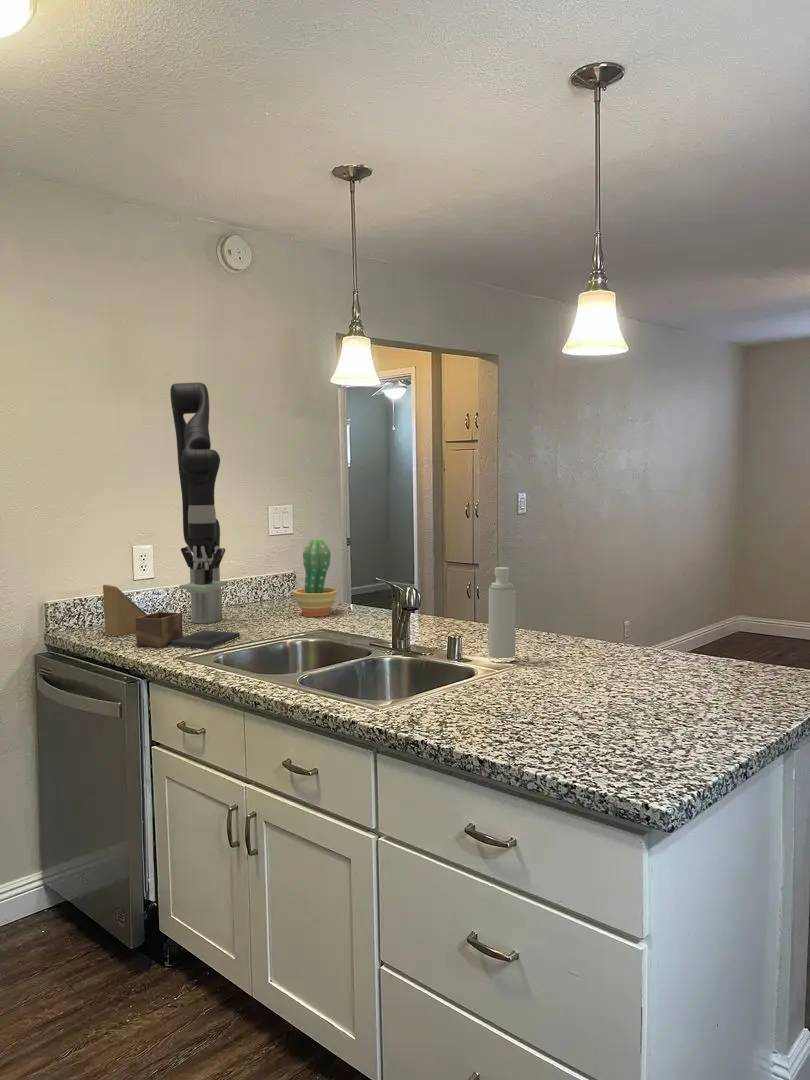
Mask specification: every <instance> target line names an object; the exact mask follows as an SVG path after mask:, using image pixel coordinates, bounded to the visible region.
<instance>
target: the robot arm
mask: <svg viewBox="0 0 810 1080" xmlns="http://www.w3.org/2000/svg"><path fill="white" fill-rule="evenodd" d="M169 391H170V395H169V396H170V403H171V410H172V416H173V422H174V423H173V424H174V428H175V429H174V430H175V435H176V436H175V438H176V450H177V464H178V474H179V475H178V476H179V481H180V489H181V490H180V491H181V499H182V500H181V501H182V503H181V505H182V533H183V539H184V542H185V544H186V546H185V547H181V548H180V551H181V555H182V556H183V558H184V560H185V563H186V565H187V567H188V568H189V577H190V578H189V579H190V582H189V583H193V582H195V570H198V569H203V568H205V583H206V584H209V583H211V582H212V581H221V574H220V573H221V570H220V569H221V568H220V566H221V565H220V564H221V562H222V560H223V558H224V555H225V553H226V549H225V547H221V544H220V543H221V527H220V525H221V524H220V522H219V520H218V518H217V513H216V512H217V511H216V507H215V506H216V505H215V489H216V488H215V486H216V481H217V475H218V472H219V468H220V465H221V457H220V454H219V452H217V450H216V449H211V447H212V444H211V443H212V442H211V438H210V437H211V436H210V429H209V428H210V427H209V426H210V425H209V423H210V397H209V396H210V395H209V391H208V388H207V385H206V384H205V383H203V382H178V383H173V384H172V385H171V386H170V390H169ZM188 414H189V415H190V414H191V415H192V414H194V415H193V416H192V417H191V418H190V419H189V420H188V422H186V420H185V417H184V415H188ZM222 593H223V591H222V590H221V588H220V589H219V590H215V591H211V592H206V593H196V592H190V613H191V623H194V624H211V623H212V624H213V623H214V624H215V623H219V622H220V621H222V620H223V595H222Z"/></svg>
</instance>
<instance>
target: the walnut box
mask: <svg viewBox="0 0 810 1080" xmlns="http://www.w3.org/2000/svg"><path fill="white" fill-rule="evenodd" d="M135 637H136V638H135V641H136V647H137V646H139V648H148V647H153V648H152V649H160V648H161V649H164V648H166V647H165V646H167V647H169V646H168V645H170V646H171V642H170V641H172V640H175V639H179V638H182V637H184V636H183V613H182V612H168V611H167V612H166V611H165V612H164V611H157V612H153V613H149V614H147V615H144V616H141V617H137V618H136V635H135ZM163 647H164V648H163Z"/></svg>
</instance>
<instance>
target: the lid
mask: <svg viewBox="0 0 810 1080" xmlns="http://www.w3.org/2000/svg"><path fill="white" fill-rule="evenodd" d="M225 586H226V587H227V586H228V581H222V580H220V581H212V582H211V583H209V584H206V583H205V568H203V569H198V570H195V582H193V583H190V582H188V583H184V584H180V585H179V590H186V591H187V593H191V592H196V593H206V592H211V591H215V590H219V589H220V590H221V588H223V587H225Z"/></svg>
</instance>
